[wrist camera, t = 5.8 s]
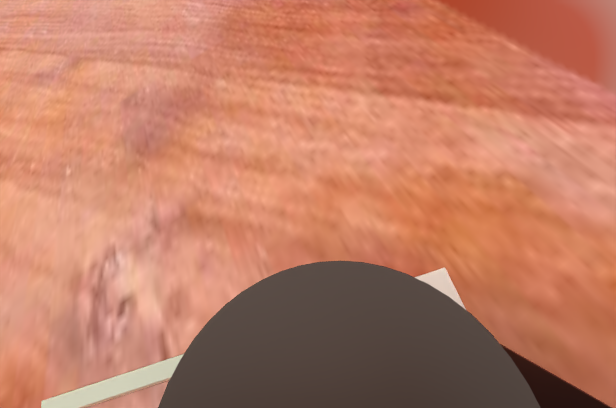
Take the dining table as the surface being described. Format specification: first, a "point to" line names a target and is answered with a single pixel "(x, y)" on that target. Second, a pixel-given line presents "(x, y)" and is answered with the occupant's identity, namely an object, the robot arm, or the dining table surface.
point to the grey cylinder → (345, 347)
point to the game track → (76, 401)
